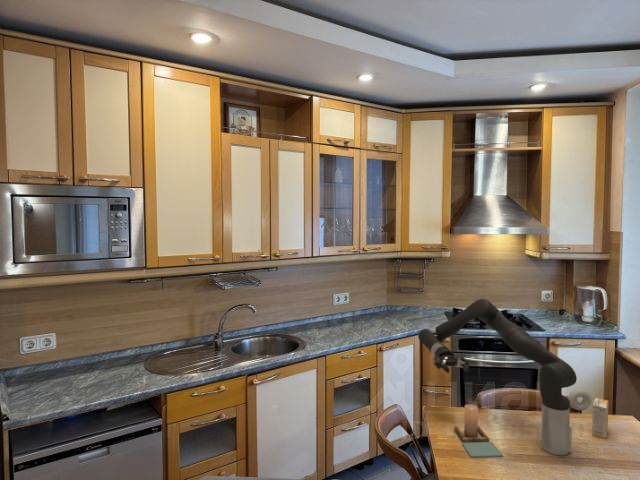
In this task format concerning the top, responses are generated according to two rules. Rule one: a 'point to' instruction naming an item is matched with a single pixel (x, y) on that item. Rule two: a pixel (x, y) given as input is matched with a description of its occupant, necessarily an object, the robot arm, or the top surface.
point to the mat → (482, 449)
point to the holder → (472, 440)
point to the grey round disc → (585, 401)
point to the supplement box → (600, 418)
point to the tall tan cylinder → (471, 421)
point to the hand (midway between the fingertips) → (458, 370)
